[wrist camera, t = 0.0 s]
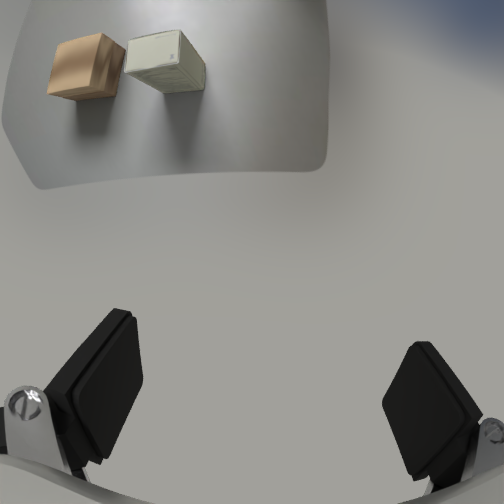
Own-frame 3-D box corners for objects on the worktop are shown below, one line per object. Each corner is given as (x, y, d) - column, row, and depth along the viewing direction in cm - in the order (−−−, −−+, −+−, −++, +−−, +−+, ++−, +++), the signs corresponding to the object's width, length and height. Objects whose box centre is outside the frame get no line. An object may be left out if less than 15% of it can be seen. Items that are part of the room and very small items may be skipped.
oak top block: (73, 50, 27) (58, 44, 24) (114, 41, 27) (101, 32, 24) (62, 97, 30) (46, 93, 26) (103, 91, 30) (88, 85, 26)
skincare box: (205, 63, 32) (183, 27, 21) (204, 91, 33) (180, 63, 22) (162, 68, 32) (127, 37, 21) (161, 95, 34) (122, 73, 22)
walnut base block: (86, 57, 31) (73, 51, 27) (126, 50, 31) (114, 42, 27) (76, 101, 34) (62, 97, 30) (116, 96, 34) (103, 91, 30)
